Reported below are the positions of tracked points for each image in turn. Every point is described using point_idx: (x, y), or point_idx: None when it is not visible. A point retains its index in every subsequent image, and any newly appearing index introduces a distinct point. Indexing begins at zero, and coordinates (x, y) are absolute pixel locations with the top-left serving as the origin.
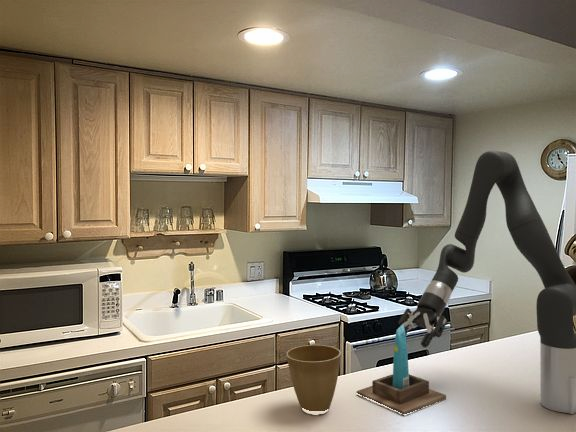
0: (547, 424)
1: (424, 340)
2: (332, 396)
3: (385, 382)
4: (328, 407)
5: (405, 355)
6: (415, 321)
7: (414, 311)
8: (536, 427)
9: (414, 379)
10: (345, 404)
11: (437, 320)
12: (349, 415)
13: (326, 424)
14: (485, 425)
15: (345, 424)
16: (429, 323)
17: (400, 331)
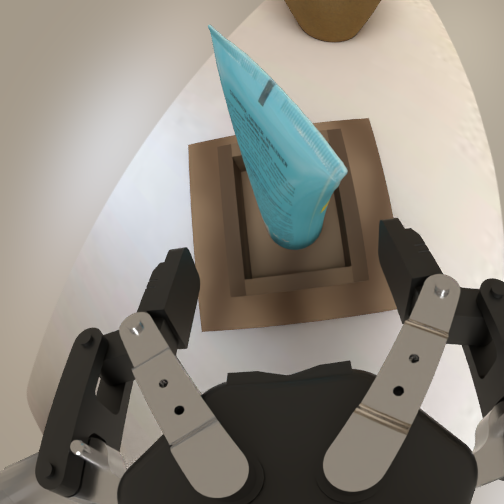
0: (37, 381)
1: (164, 268)
2: (294, 12)
3: None
4: (299, 24)
5: (252, 181)
6: (349, 374)
7: (464, 476)
8: (37, 354)
9: (285, 275)
10: (326, 75)
11: (108, 462)
12: (269, 57)
13: (260, 17)
14: (73, 281)
15: (239, 38)
16: (142, 387)
17: (239, 82)
